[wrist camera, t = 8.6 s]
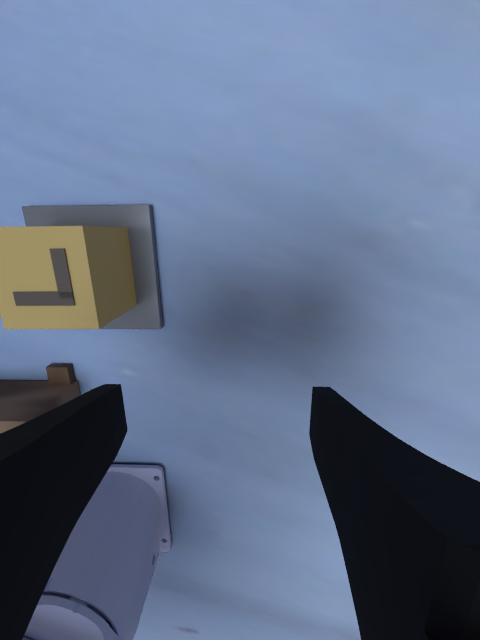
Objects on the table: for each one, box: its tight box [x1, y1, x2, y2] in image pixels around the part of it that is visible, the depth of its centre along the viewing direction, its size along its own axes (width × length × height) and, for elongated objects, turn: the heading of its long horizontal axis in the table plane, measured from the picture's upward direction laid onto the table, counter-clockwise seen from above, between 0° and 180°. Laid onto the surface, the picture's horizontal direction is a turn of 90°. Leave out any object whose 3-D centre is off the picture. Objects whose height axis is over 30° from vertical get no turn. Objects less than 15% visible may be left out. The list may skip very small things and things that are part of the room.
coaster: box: [22, 205, 163, 329], centre depth 19 cm, size 8×8×1 cm
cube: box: [0, 226, 137, 329], centre depth 16 cm, size 5×5×5 cm
